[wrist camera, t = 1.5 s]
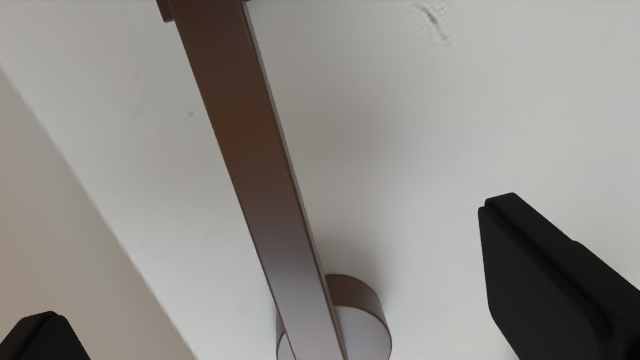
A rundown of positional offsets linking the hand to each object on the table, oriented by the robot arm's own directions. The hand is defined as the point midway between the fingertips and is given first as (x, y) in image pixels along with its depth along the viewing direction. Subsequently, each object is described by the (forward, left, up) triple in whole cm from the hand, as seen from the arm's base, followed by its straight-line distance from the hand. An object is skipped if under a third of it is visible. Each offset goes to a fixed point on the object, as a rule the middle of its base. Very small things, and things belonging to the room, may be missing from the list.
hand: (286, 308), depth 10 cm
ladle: (+3, 0, -11) cm, 11 cm away
